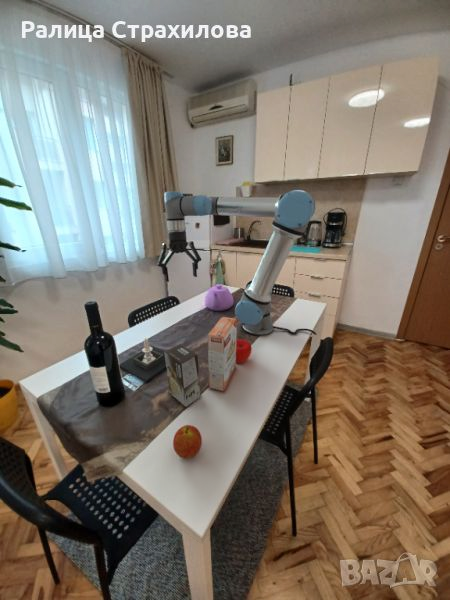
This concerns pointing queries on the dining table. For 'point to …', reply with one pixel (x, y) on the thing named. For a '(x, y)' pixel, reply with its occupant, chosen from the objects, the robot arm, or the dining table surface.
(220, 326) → the cracker box
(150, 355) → the white tall tiered piece
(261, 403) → the dining table surface
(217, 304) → the teapot
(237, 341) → the apple
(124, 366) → the socket pad
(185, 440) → the fruit
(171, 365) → the coffee box
